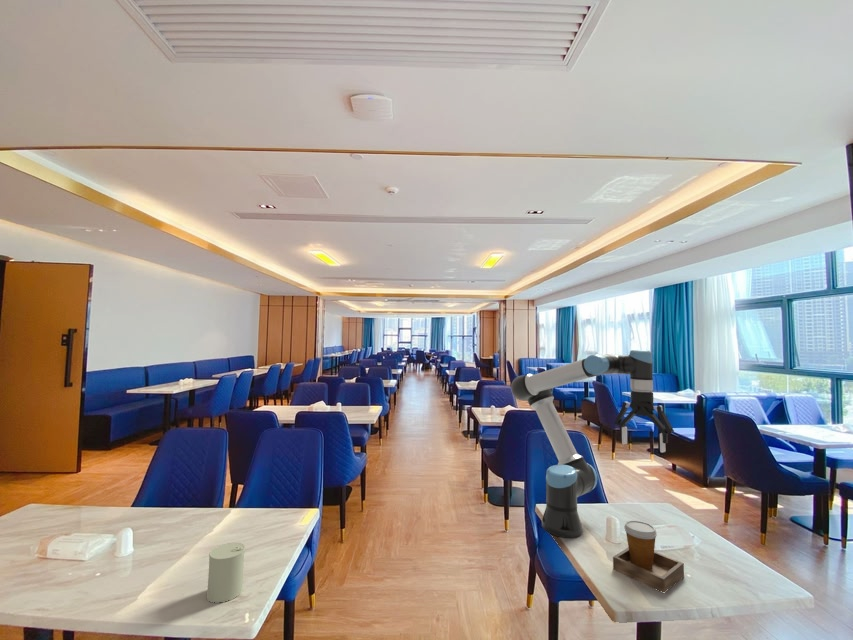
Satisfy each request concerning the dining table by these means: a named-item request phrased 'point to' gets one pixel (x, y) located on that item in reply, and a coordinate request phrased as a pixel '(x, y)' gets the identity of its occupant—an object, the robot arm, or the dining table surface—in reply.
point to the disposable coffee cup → (641, 543)
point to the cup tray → (651, 570)
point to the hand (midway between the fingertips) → (643, 447)
